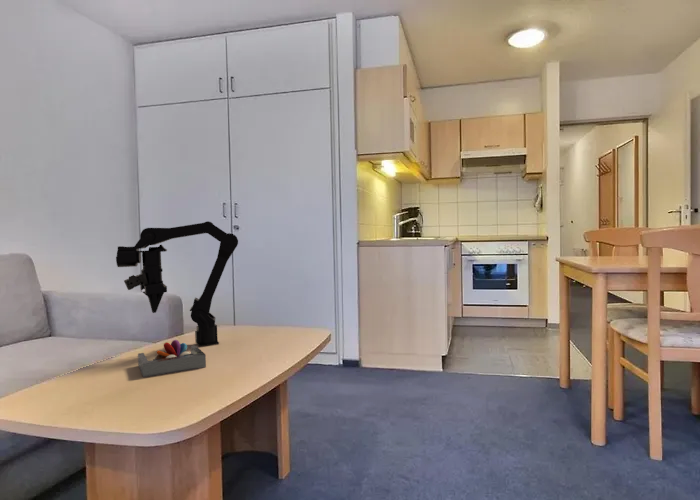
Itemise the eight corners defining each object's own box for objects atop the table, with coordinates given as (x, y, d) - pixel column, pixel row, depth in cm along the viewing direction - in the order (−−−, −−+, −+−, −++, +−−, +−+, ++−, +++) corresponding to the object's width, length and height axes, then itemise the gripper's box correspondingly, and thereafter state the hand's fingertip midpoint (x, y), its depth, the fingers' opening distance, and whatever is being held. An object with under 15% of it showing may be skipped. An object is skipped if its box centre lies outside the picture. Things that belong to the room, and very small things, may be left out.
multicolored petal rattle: (150, 367, 129) (148, 341, 129) (181, 359, 136) (180, 335, 136) (164, 372, 124) (163, 345, 123) (197, 364, 131) (196, 339, 131)
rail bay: (196, 356, 139) (195, 345, 139) (205, 367, 127) (205, 354, 127) (138, 365, 131) (137, 353, 131) (143, 377, 119) (142, 363, 119)
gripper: (123, 266, 156) (125, 311, 156) (127, 268, 139) (129, 319, 140) (158, 264, 161) (160, 308, 161) (166, 266, 145) (168, 315, 145)
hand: (154, 312), depth 152 cm, fingers closed
